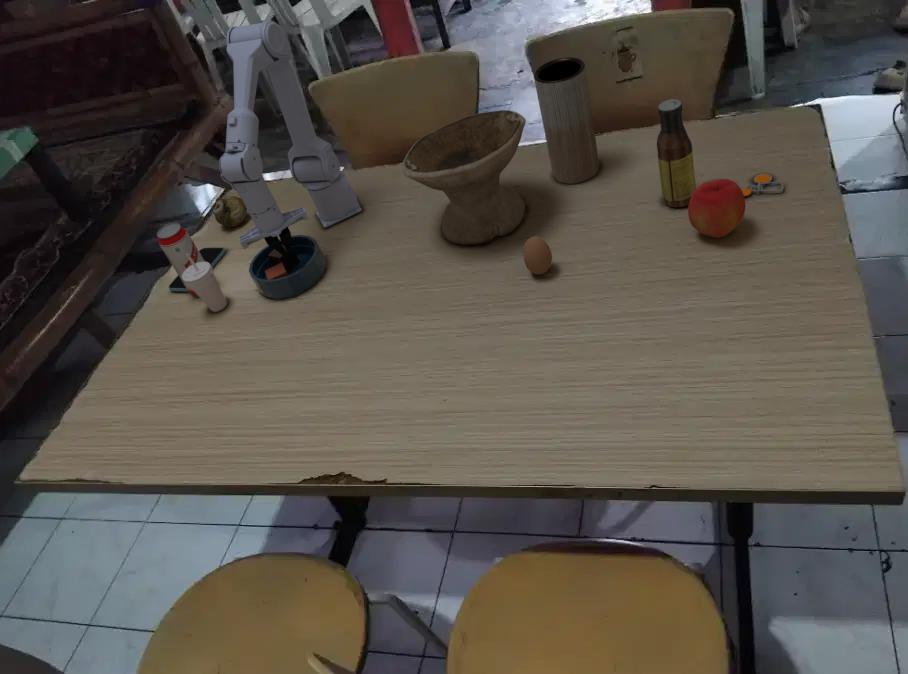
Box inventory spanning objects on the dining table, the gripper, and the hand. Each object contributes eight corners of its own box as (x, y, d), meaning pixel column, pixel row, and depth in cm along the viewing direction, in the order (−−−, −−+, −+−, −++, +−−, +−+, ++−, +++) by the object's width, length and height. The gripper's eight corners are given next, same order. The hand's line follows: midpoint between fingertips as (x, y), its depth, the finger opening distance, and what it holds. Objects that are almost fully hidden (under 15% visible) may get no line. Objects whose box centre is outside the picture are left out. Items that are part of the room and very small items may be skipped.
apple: (756, 234, 129) (757, 185, 122) (708, 255, 129) (707, 208, 122) (724, 209, 136) (724, 162, 129) (679, 229, 136) (676, 183, 129)
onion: (255, 221, 178) (239, 194, 173) (224, 236, 177) (208, 209, 172) (248, 209, 184) (233, 181, 178) (219, 223, 182) (202, 196, 177)
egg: (535, 284, 135) (527, 250, 130) (522, 271, 139) (514, 238, 133) (560, 272, 136) (552, 238, 130) (546, 259, 140) (538, 225, 134)
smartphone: (225, 247, 172) (191, 288, 162) (227, 251, 172) (193, 292, 163) (201, 247, 174) (166, 288, 165) (203, 251, 175) (168, 292, 166)
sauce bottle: (701, 192, 142) (697, 95, 128) (689, 211, 139) (684, 114, 125) (668, 188, 145) (661, 94, 131) (656, 207, 142) (647, 112, 128)
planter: (595, 153, 160) (580, 51, 145) (603, 177, 153) (588, 73, 138) (550, 165, 162) (530, 65, 146) (556, 189, 155) (536, 87, 139)
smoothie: (225, 315, 154) (191, 263, 144) (199, 316, 156) (164, 265, 146) (237, 294, 158) (204, 243, 148) (212, 296, 160) (178, 245, 150)
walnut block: (299, 260, 160) (292, 246, 157) (288, 272, 158) (280, 257, 155) (287, 258, 162) (279, 243, 159) (275, 269, 160) (267, 255, 157)
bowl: (518, 170, 164) (498, 85, 150) (563, 224, 146) (545, 133, 132) (412, 213, 163) (382, 132, 149) (444, 273, 145) (414, 187, 131)
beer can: (222, 279, 164) (188, 221, 152) (207, 298, 160) (171, 240, 149) (200, 278, 166) (165, 220, 155) (184, 296, 162) (148, 238, 151)
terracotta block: (289, 276, 157) (281, 262, 154) (294, 286, 154) (286, 271, 151) (272, 285, 156) (264, 270, 153) (276, 294, 153) (268, 280, 151)
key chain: (782, 173, 139) (782, 169, 138) (784, 196, 134) (784, 192, 134) (711, 179, 143) (711, 175, 143) (710, 201, 139) (710, 197, 138)
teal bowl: (316, 244, 164) (307, 225, 161) (335, 277, 153) (325, 259, 150) (253, 274, 162) (243, 256, 159) (267, 310, 151) (256, 292, 148)
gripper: (231, 230, 142) (263, 283, 152) (299, 198, 144) (326, 253, 153) (225, 215, 147) (256, 267, 157) (291, 184, 149) (317, 237, 158)
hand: (290, 259), depth 155 cm, fingers closed
